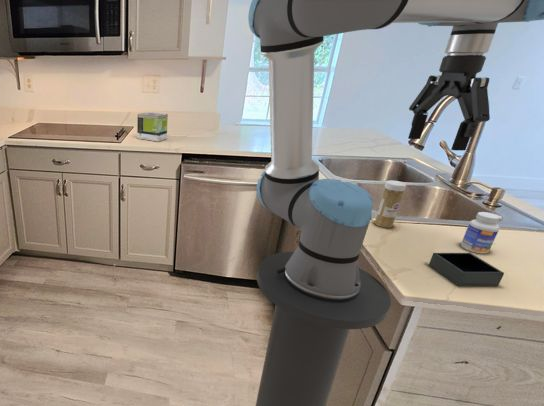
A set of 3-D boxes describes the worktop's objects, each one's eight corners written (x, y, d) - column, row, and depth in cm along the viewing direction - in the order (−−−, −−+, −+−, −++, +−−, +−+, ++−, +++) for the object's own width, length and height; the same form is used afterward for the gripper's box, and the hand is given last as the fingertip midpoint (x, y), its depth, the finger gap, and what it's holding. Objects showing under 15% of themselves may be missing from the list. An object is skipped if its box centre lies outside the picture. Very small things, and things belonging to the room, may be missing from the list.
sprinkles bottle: (387, 229, 106) (401, 186, 100) (370, 223, 109) (383, 181, 104) (395, 225, 107) (409, 183, 102) (379, 220, 111) (391, 178, 106)
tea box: (167, 138, 215) (168, 113, 209) (157, 142, 208) (158, 116, 202) (146, 135, 224) (147, 111, 218) (136, 138, 217) (136, 113, 211)
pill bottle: (474, 254, 92) (489, 220, 88) (454, 243, 97) (468, 210, 93) (495, 253, 92) (511, 219, 88) (474, 243, 97) (488, 210, 93)
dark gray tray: (457, 286, 81) (463, 272, 79) (428, 265, 89) (433, 252, 87) (498, 286, 80) (504, 273, 79) (464, 265, 88) (470, 252, 87)
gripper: (539, 53, 74) (497, 156, 82) (436, 55, 97) (411, 134, 105) (501, 53, 74) (463, 155, 82) (408, 55, 97) (385, 134, 105)
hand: (434, 144), depth 93 cm, fingers open, 13 cm apart
